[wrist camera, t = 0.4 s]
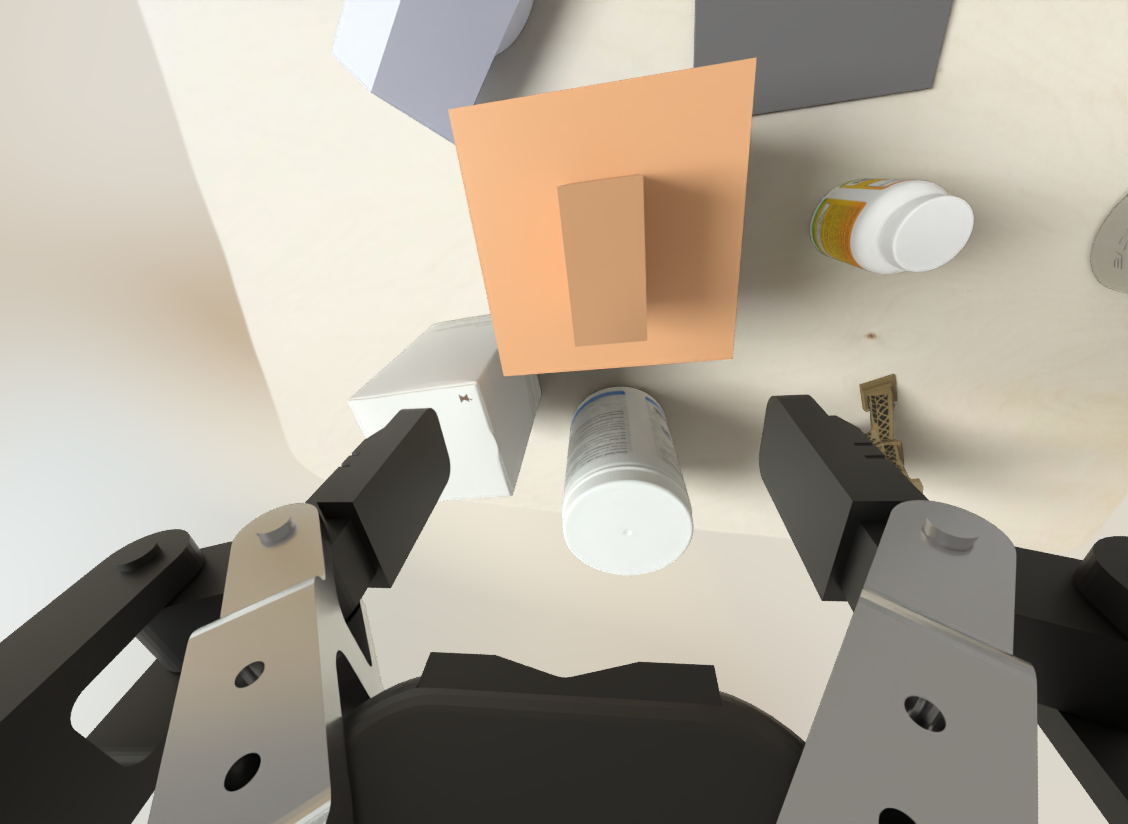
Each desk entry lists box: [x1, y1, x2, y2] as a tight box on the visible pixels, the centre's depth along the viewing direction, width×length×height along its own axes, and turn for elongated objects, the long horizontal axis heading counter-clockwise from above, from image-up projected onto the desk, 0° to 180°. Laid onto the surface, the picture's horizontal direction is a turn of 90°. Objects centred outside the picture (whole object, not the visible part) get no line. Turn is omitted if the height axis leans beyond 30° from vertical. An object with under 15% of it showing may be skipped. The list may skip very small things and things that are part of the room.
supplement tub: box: [562, 387, 693, 575], centre depth 36 cm, size 10×10×15 cm
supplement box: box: [348, 315, 541, 501], centre depth 34 cm, size 9×9×15 cm
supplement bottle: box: [810, 179, 974, 274], centre depth 27 cm, size 5×5×10 cm
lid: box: [448, 57, 757, 376], centre depth 19 cm, size 13×13×8 cm
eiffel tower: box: [859, 374, 923, 494], centre depth 30 cm, size 11×11×25 cm
